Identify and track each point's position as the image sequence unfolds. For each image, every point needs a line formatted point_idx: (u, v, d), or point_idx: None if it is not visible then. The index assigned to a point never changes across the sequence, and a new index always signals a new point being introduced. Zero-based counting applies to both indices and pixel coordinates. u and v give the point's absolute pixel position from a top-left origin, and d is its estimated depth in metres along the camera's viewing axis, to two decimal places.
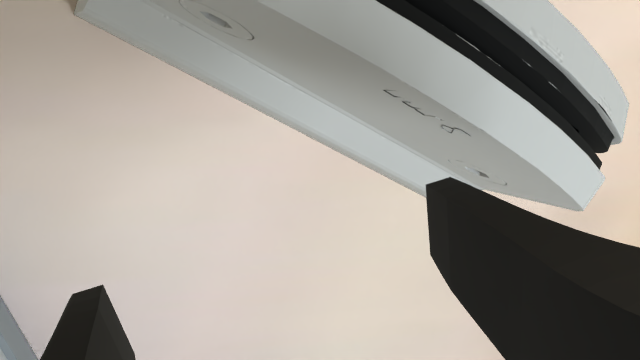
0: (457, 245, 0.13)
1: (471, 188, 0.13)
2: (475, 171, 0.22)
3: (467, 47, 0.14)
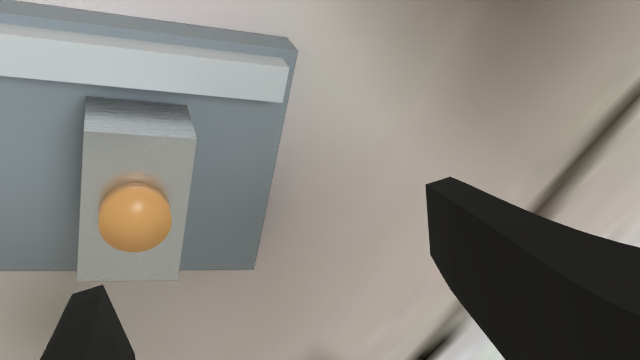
0: (457, 245, 0.13)
1: (471, 188, 0.13)
2: None
3: None
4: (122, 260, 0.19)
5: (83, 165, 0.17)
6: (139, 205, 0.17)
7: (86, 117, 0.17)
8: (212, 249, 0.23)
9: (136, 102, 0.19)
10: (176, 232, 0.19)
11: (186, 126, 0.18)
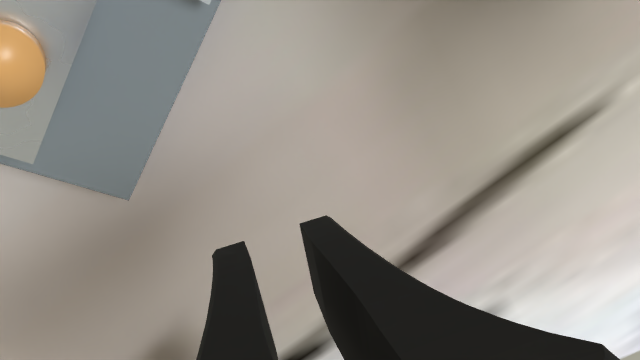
0: (325, 289, 0.12)
1: (338, 230, 0.12)
2: None
3: None
4: None
5: None
6: (8, 46, 0.14)
7: None
8: (87, 161, 0.20)
9: None
10: (46, 102, 0.16)
11: None
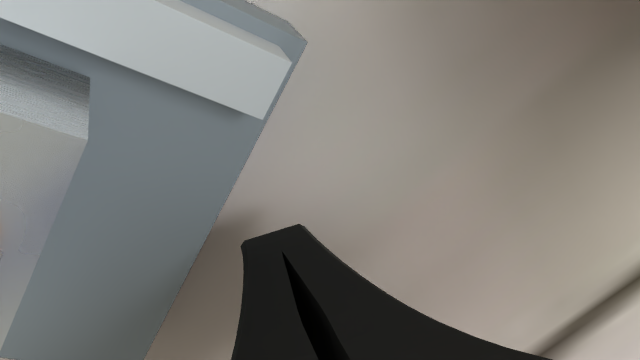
0: (296, 299, 0.12)
1: (309, 240, 0.12)
2: None
3: None
4: None
5: None
6: None
7: None
8: (72, 334, 0.14)
9: None
10: None
11: (74, 111, 0.09)
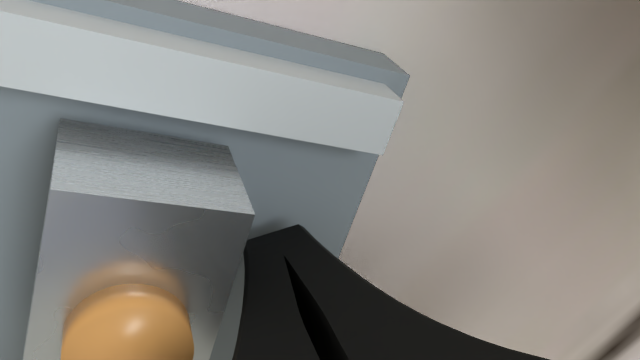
0: (295, 299, 0.12)
1: (308, 240, 0.12)
2: None
3: None
4: None
5: (43, 250, 0.09)
6: (140, 328, 0.09)
7: (57, 159, 0.09)
8: None
9: (146, 135, 0.11)
10: None
11: (233, 187, 0.10)
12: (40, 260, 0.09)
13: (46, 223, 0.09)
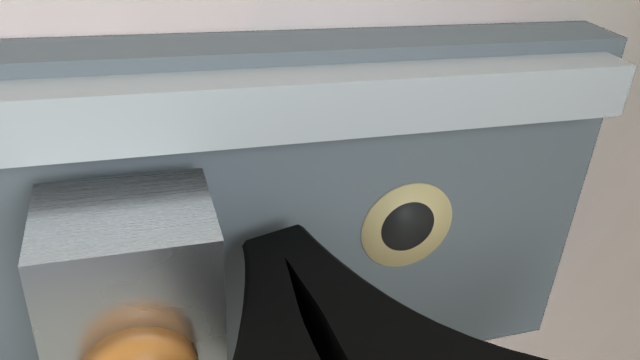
0: None
1: (307, 240, 0.12)
2: None
3: None
4: None
5: (32, 321, 0.09)
6: None
7: (27, 231, 0.10)
8: (494, 314, 0.18)
9: (118, 179, 0.11)
10: None
11: (203, 214, 0.10)
12: (33, 329, 0.10)
13: (25, 297, 0.09)
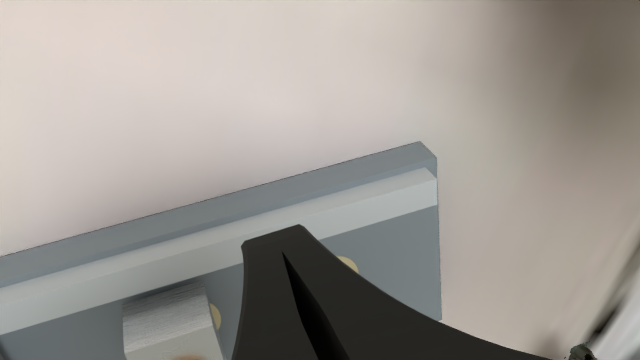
0: (296, 298, 0.12)
1: (309, 240, 0.12)
2: None
3: None
4: None
5: None
6: None
7: (124, 333, 0.21)
8: None
9: (161, 295, 0.23)
10: None
11: (203, 311, 0.22)
12: None
13: None
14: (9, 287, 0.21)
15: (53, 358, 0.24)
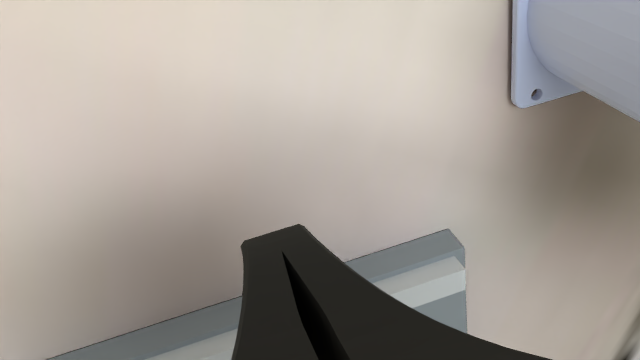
0: (296, 298, 0.12)
1: (309, 240, 0.12)
2: None
3: None
4: None
5: None
6: None
7: None
8: None
9: None
10: None
11: None
12: None
13: None
14: None
15: None
